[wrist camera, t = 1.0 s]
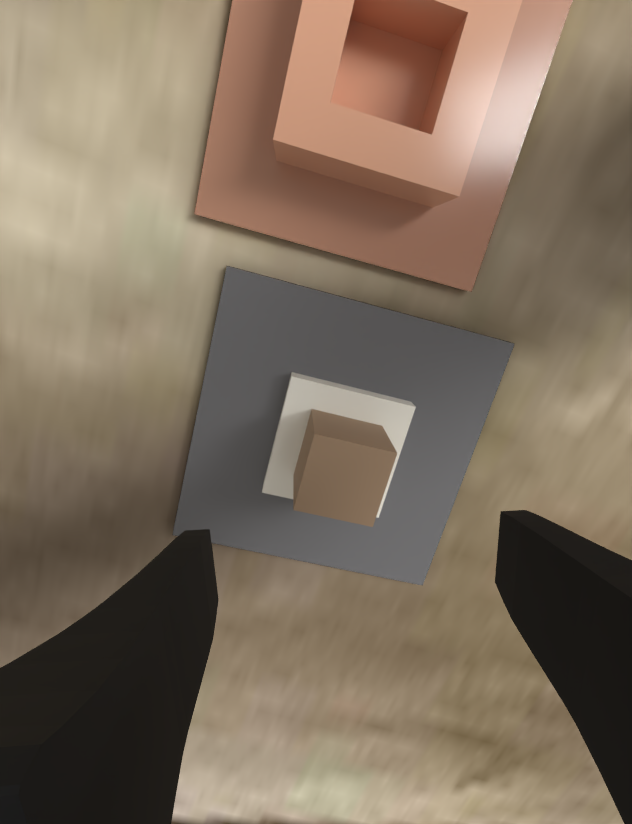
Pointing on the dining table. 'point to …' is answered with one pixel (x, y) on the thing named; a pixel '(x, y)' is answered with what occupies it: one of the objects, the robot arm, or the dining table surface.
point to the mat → (348, 365)
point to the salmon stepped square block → (376, 125)
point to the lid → (336, 449)
